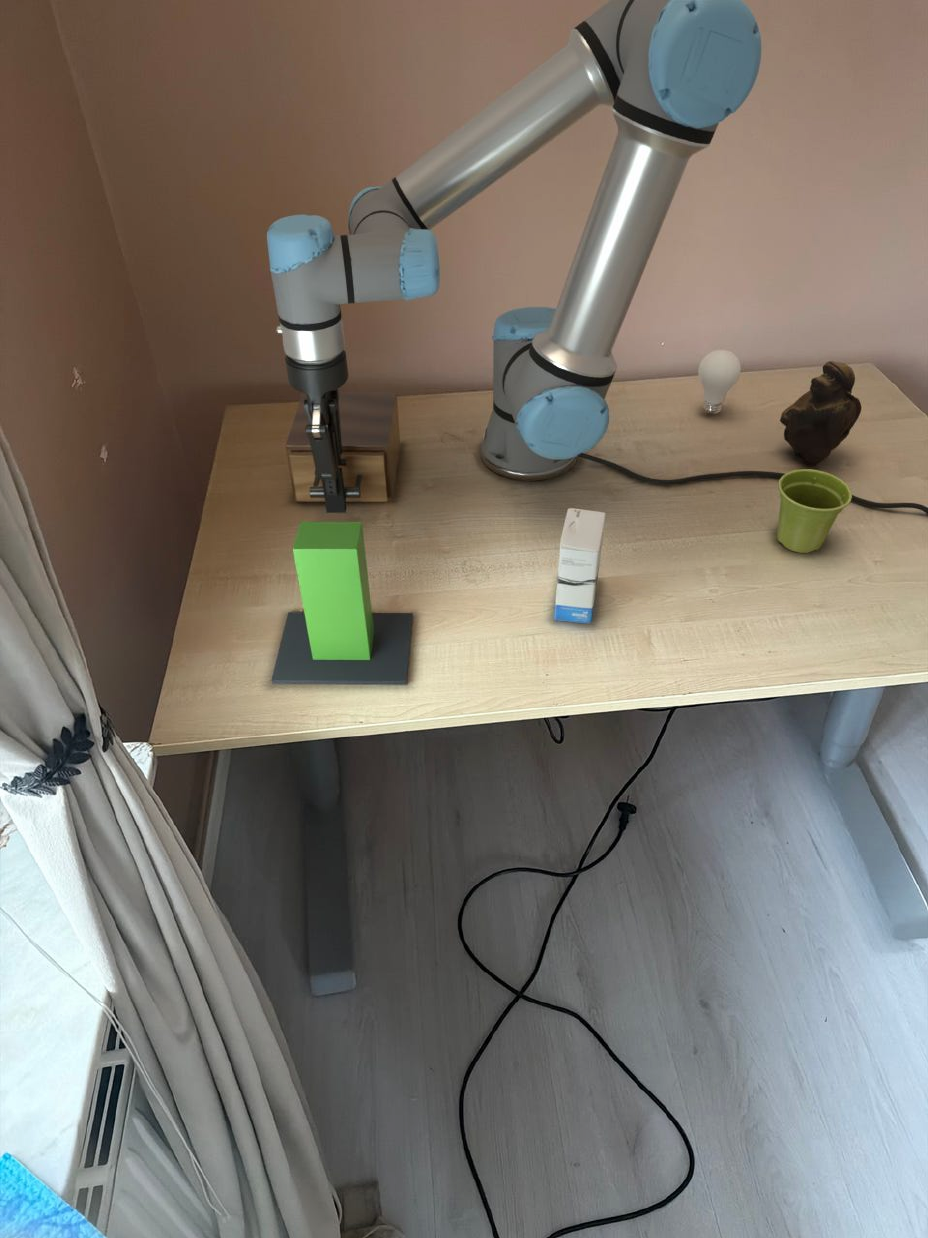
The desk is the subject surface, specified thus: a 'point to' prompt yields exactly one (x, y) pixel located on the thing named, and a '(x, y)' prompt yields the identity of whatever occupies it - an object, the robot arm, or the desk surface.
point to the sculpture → (822, 414)
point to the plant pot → (809, 508)
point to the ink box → (579, 565)
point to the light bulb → (718, 378)
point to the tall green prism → (335, 589)
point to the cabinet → (358, 430)
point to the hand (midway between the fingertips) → (336, 509)
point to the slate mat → (380, 669)
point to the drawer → (359, 476)
